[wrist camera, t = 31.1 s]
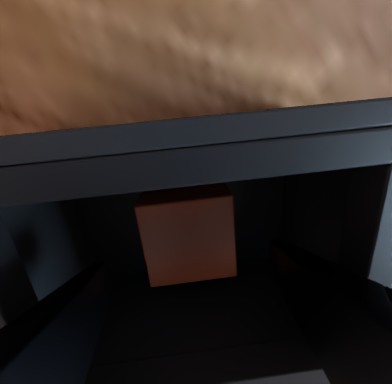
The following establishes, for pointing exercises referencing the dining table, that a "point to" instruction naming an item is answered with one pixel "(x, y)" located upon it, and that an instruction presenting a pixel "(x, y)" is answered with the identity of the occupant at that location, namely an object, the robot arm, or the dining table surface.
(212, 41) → the dining table surface
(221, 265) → the block
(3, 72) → the dining table surface
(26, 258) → the basket
